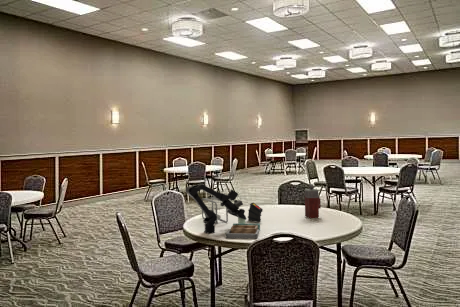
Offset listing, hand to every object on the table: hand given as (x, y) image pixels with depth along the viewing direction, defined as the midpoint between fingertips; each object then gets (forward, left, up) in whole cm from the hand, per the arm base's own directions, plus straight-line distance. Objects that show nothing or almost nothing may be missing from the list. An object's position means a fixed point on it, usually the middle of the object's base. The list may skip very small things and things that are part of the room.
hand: (243, 218), depth 304 cm
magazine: (+17, +16, -7) cm, 24 cm away
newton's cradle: (-12, +35, -7) cm, 38 cm away
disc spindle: (-1, 0, -7) cm, 7 cm away
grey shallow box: (-10, -25, -7) cm, 28 cm away
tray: (-5, -16, -7) cm, 18 cm away
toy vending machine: (+68, +11, -7) cm, 69 cm away
